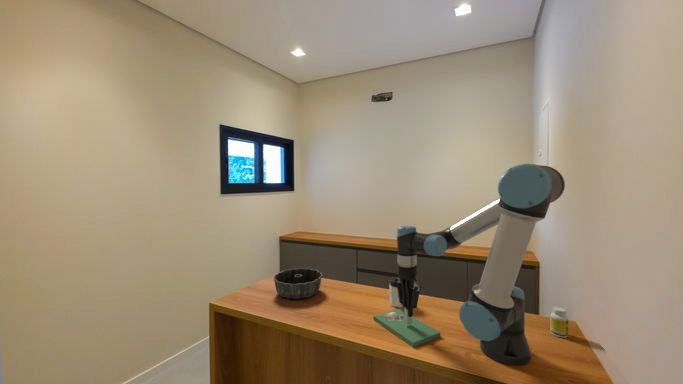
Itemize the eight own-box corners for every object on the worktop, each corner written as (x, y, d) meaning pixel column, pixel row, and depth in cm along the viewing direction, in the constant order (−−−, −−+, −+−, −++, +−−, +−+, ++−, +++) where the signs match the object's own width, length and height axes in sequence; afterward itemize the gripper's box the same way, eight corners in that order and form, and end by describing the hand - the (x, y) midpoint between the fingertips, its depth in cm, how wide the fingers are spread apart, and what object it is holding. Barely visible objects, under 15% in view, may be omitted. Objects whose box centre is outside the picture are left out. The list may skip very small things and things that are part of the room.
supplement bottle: (569, 339, 103) (569, 313, 102) (551, 335, 106) (551, 310, 105) (567, 333, 107) (567, 307, 107) (549, 329, 110) (549, 305, 110)
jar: (397, 309, 130) (397, 283, 130) (385, 303, 137) (385, 279, 137) (411, 304, 135) (410, 280, 135) (399, 299, 142) (398, 275, 142)
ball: (398, 311, 119) (393, 310, 122) (392, 313, 117) (387, 312, 120) (400, 320, 118) (394, 319, 121) (393, 322, 116) (388, 321, 119)
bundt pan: (320, 303, 139) (320, 283, 138) (267, 303, 139) (267, 283, 139) (324, 284, 165) (324, 268, 165) (280, 285, 165) (280, 268, 165)
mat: (440, 336, 106) (440, 332, 106) (413, 347, 99) (413, 342, 99) (398, 312, 127) (398, 308, 127) (373, 319, 120) (373, 316, 120)
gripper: (426, 267, 107) (427, 328, 107) (403, 260, 119) (404, 315, 119) (411, 270, 104) (412, 333, 104) (389, 262, 115) (390, 319, 115)
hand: (408, 323), depth 111 cm, fingers closed
